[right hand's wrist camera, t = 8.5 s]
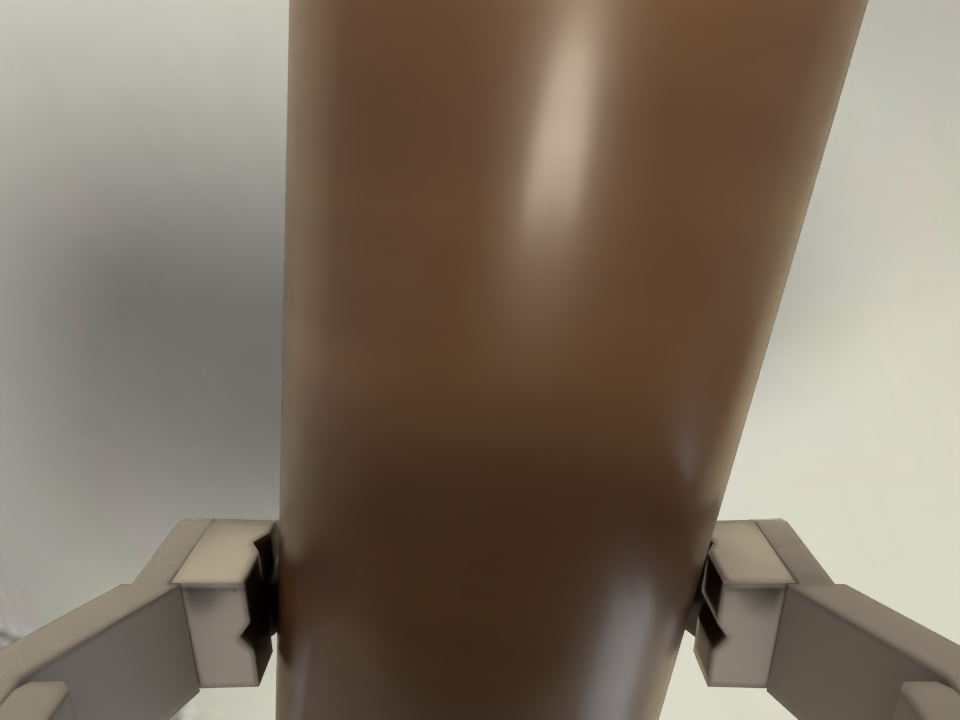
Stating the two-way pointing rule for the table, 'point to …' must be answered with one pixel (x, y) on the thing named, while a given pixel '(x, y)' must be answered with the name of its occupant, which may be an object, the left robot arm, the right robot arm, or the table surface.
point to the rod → (526, 335)
